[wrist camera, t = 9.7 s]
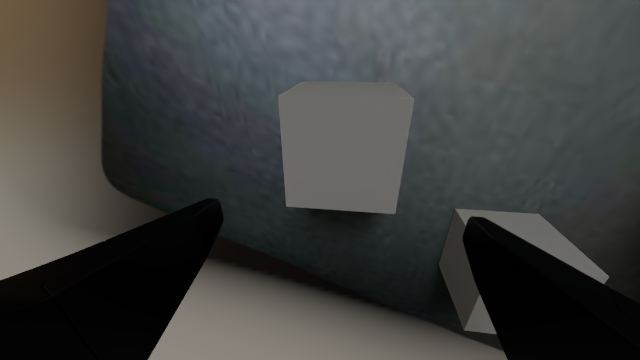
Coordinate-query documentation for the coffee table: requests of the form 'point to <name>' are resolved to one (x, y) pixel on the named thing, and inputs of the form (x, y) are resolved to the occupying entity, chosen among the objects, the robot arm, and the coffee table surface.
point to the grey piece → (344, 144)
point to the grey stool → (519, 224)
